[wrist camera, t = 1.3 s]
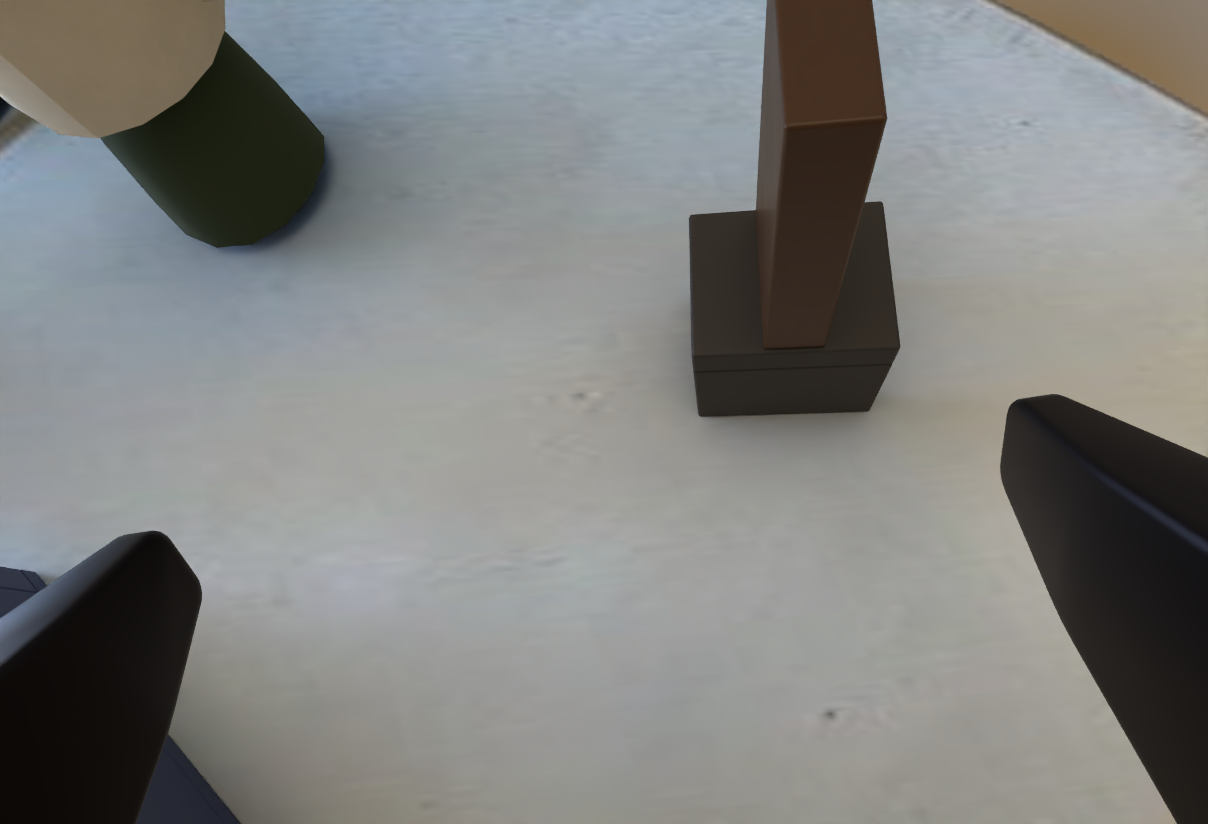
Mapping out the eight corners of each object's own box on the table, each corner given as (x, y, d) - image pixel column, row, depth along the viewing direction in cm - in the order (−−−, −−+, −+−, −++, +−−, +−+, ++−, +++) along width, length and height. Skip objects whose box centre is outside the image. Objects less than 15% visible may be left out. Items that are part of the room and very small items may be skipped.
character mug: (402, 93, 30) (175, -320, 17) (384, 253, 27) (107, -99, 15) (147, 125, 31) (-222, -234, 19) (109, 278, 29) (-342, -22, 17)
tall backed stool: (869, 412, 22) (1018, 113, 11) (698, 417, 23) (667, 143, 12) (856, 285, 24) (975, -98, 12) (695, 294, 25) (665, -58, 13)
